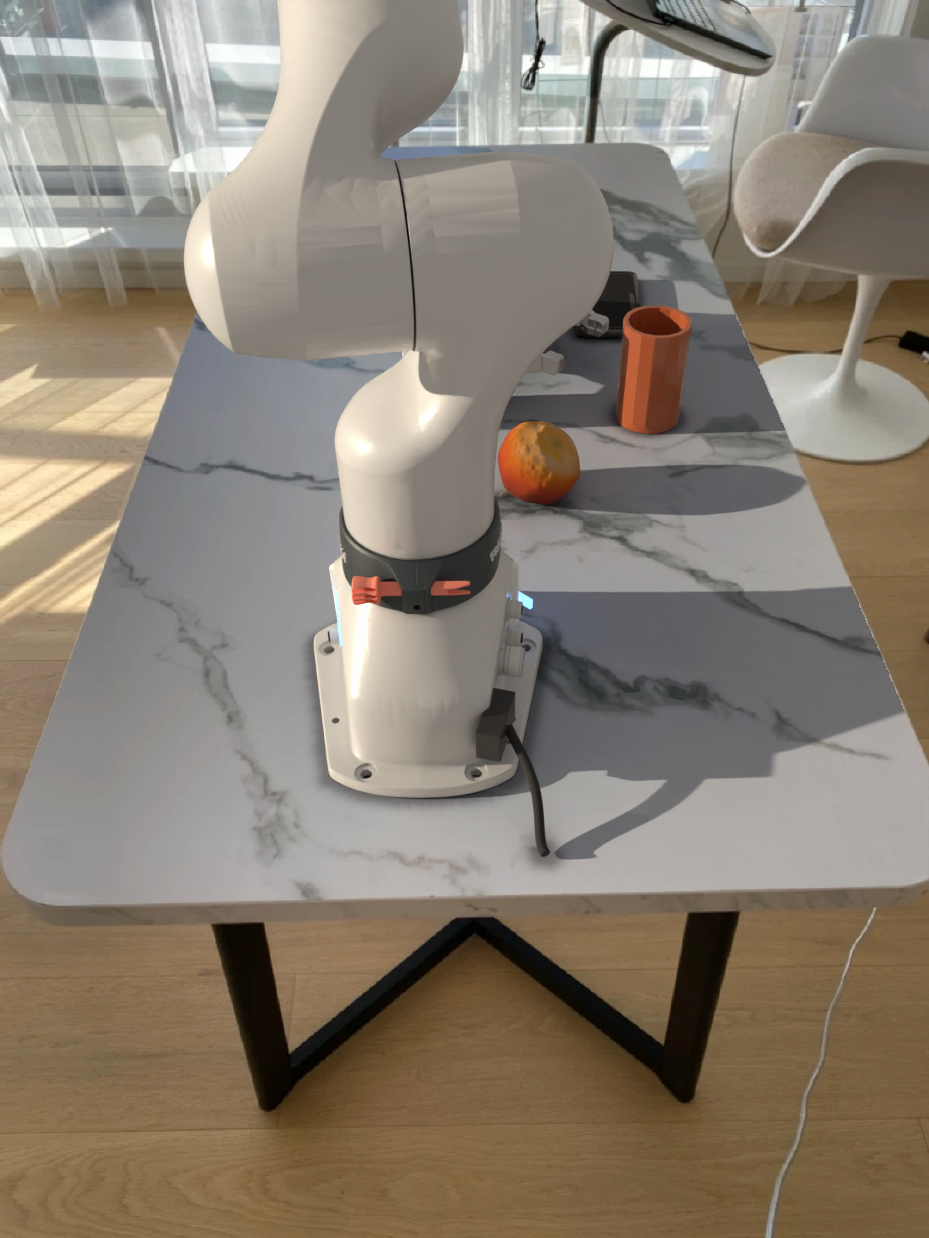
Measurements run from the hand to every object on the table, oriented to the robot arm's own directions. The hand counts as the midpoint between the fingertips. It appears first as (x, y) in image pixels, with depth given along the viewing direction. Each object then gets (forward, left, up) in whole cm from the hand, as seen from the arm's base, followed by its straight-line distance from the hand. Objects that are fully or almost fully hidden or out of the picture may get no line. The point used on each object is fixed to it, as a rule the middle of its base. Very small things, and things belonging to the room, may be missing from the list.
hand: (583, 346), depth 110 cm
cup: (-4, -7, -6) cm, 10 cm away
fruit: (-17, +5, -6) cm, 19 cm away
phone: (+20, -5, -6) cm, 21 cm away
